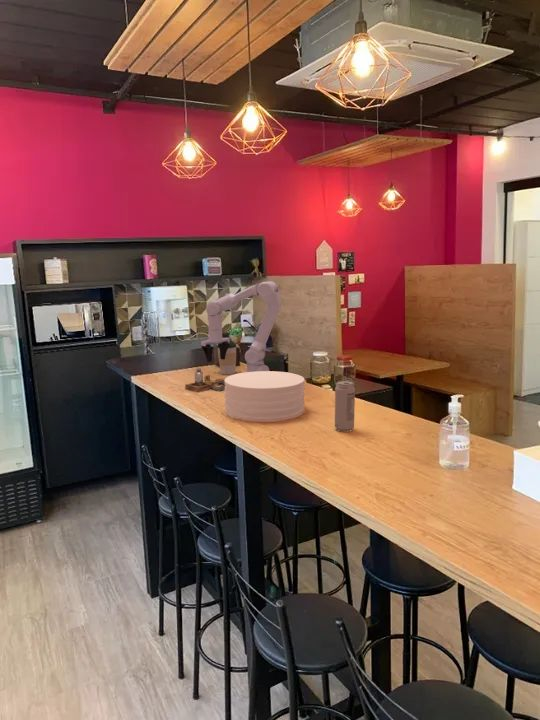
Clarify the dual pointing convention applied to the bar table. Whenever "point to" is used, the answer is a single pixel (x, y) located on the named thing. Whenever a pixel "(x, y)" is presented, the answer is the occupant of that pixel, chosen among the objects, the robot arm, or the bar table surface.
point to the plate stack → (264, 396)
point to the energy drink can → (344, 406)
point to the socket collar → (219, 387)
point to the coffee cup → (228, 359)
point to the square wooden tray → (198, 387)
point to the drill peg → (198, 377)
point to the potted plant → (216, 358)
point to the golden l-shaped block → (207, 380)
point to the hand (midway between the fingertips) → (216, 360)
